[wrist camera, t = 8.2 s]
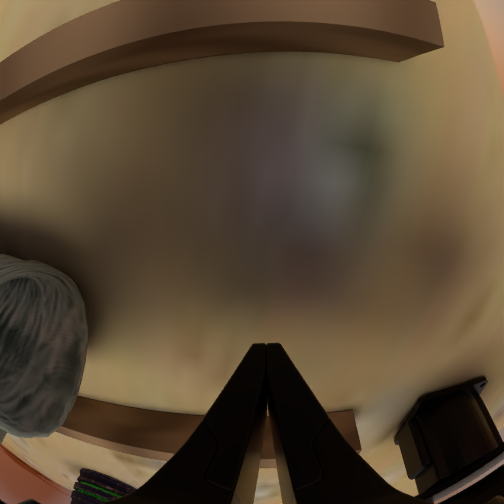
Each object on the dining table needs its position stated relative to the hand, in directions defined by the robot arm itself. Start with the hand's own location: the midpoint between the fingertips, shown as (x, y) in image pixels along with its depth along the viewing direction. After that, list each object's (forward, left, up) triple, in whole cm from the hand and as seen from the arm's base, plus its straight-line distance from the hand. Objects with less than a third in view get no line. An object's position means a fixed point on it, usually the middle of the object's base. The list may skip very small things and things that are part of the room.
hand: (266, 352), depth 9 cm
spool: (+14, 0, -4) cm, 15 cm away
